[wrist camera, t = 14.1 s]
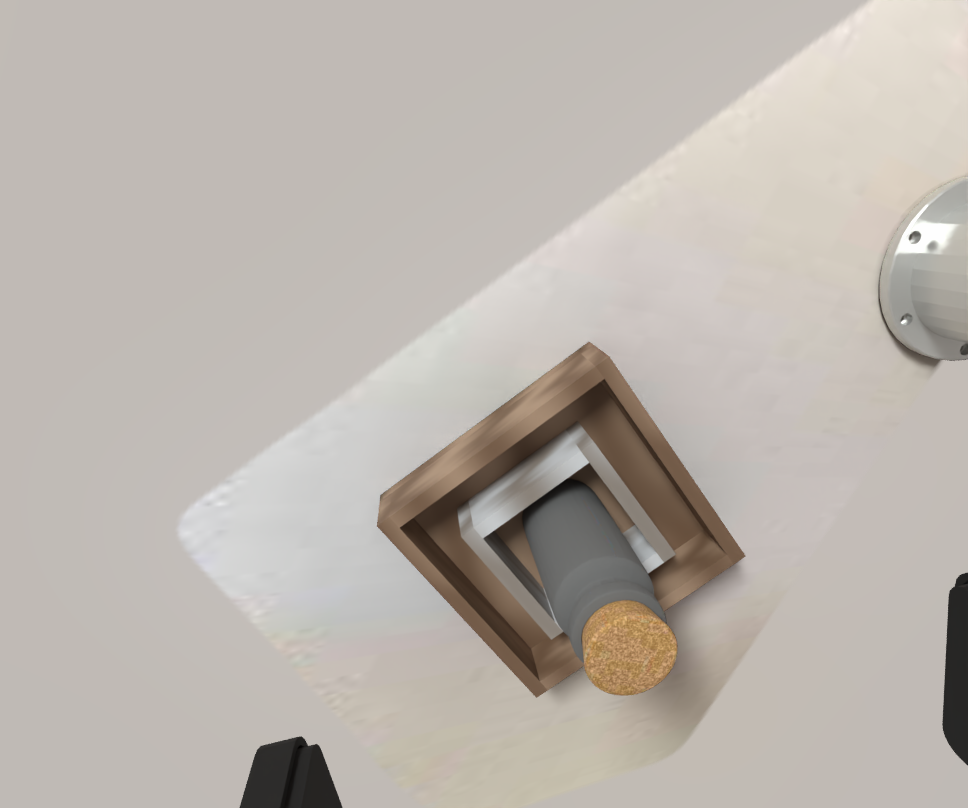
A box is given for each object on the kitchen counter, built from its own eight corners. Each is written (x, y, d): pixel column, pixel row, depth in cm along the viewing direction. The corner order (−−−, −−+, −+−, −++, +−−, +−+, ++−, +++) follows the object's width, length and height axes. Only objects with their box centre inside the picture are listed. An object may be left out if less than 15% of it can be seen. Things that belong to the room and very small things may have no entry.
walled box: (589, 341, 42) (611, 358, 37) (715, 525, 47) (749, 560, 42) (380, 495, 43) (376, 530, 39) (525, 655, 49) (537, 702, 44)
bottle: (551, 463, 43) (619, 587, 29) (616, 500, 44) (712, 636, 30) (505, 528, 44) (549, 679, 30) (571, 563, 46) (643, 722, 31)
